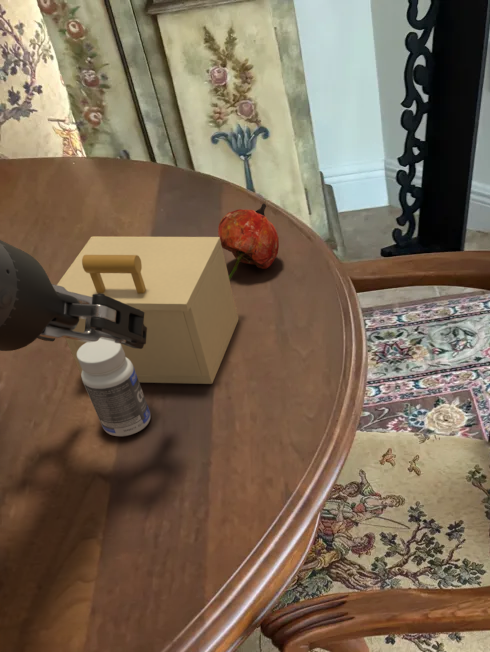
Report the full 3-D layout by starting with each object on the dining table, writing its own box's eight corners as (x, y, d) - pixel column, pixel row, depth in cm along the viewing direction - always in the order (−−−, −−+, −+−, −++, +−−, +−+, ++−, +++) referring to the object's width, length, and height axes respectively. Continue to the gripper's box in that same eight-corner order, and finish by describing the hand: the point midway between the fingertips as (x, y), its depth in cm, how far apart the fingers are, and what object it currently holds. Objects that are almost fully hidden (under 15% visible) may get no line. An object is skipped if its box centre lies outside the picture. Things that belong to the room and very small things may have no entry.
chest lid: (188, 311, 73) (176, 267, 70) (47, 309, 74) (28, 266, 71) (221, 244, 81) (211, 202, 78) (94, 243, 82) (79, 202, 79)
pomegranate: (263, 303, 94) (307, 230, 93) (218, 271, 88) (263, 193, 87) (232, 286, 98) (273, 216, 97) (187, 254, 93) (230, 179, 92)
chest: (212, 384, 80) (190, 307, 73) (83, 381, 81) (50, 305, 75) (238, 319, 88) (221, 244, 81) (120, 317, 89) (94, 243, 82)
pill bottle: (159, 424, 76) (133, 352, 70) (112, 444, 74) (81, 371, 68) (141, 400, 79) (114, 328, 73) (95, 418, 77) (64, 346, 71)
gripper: (63, 233, 52) (174, 295, 68) (-124, 222, 54) (26, 284, 70) (55, 347, 52) (167, 382, 68) (-130, 332, 55) (20, 369, 71)
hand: (96, 333), depth 69 cm, fingers open, 8 cm apart
